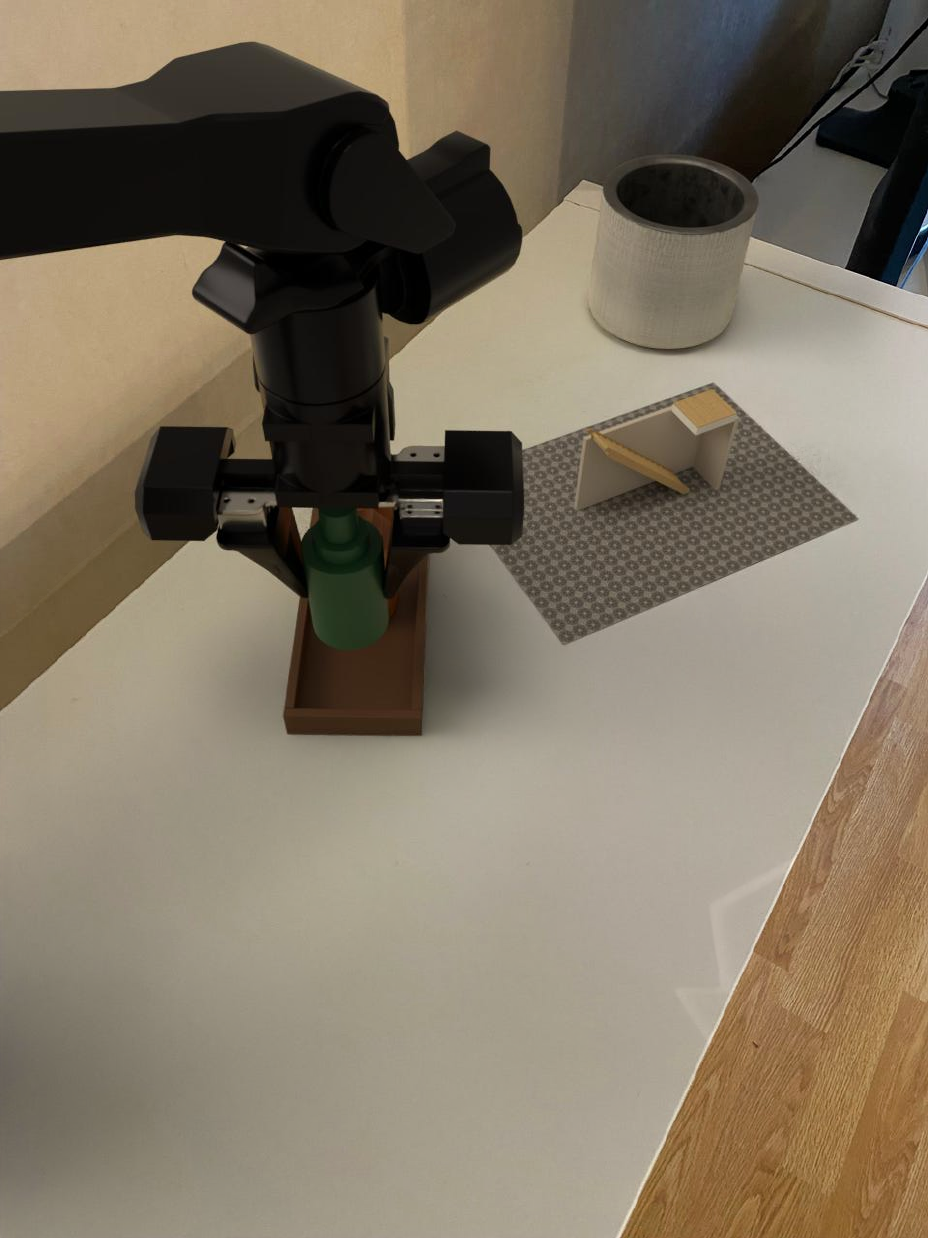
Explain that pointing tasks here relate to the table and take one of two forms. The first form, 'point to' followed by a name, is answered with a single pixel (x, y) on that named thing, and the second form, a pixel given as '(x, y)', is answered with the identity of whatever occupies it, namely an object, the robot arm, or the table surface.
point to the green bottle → (345, 579)
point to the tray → (361, 672)
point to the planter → (670, 249)
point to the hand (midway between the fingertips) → (348, 592)
